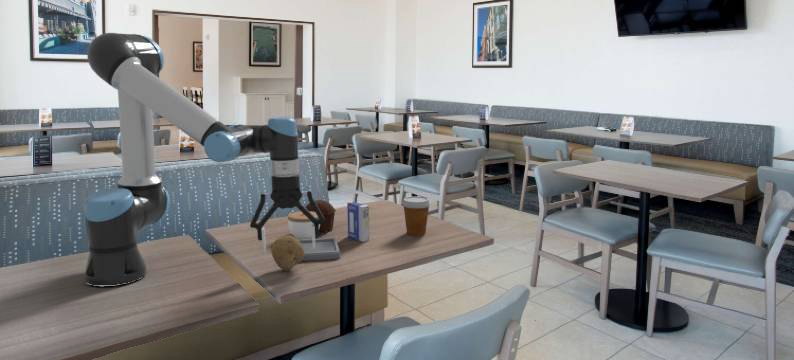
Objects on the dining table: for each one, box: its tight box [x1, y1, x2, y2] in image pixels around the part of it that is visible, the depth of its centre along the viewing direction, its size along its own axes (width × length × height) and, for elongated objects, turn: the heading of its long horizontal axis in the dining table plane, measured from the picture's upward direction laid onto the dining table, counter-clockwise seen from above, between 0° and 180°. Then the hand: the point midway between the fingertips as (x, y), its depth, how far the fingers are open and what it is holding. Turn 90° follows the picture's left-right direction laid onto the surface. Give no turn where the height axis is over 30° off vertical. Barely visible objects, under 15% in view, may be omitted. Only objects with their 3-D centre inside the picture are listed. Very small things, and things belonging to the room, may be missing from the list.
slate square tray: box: [299, 237, 341, 262], centre depth 180 cm, size 14×14×2 cm
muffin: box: [304, 199, 337, 234], centre depth 204 cm, size 12×11×10 cm
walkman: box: [346, 201, 370, 243], centre depth 193 cm, size 8×3×12 cm, turn 43°
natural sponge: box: [270, 235, 305, 272], centre depth 164 cm, size 9×9×10 cm
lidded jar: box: [287, 210, 320, 240], centre depth 194 cm, size 11×11×9 cm
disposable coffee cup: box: [401, 195, 431, 237], centre depth 199 cm, size 10×10×12 cm
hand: (289, 249), depth 164 cm, fingers open, 13 cm apart
